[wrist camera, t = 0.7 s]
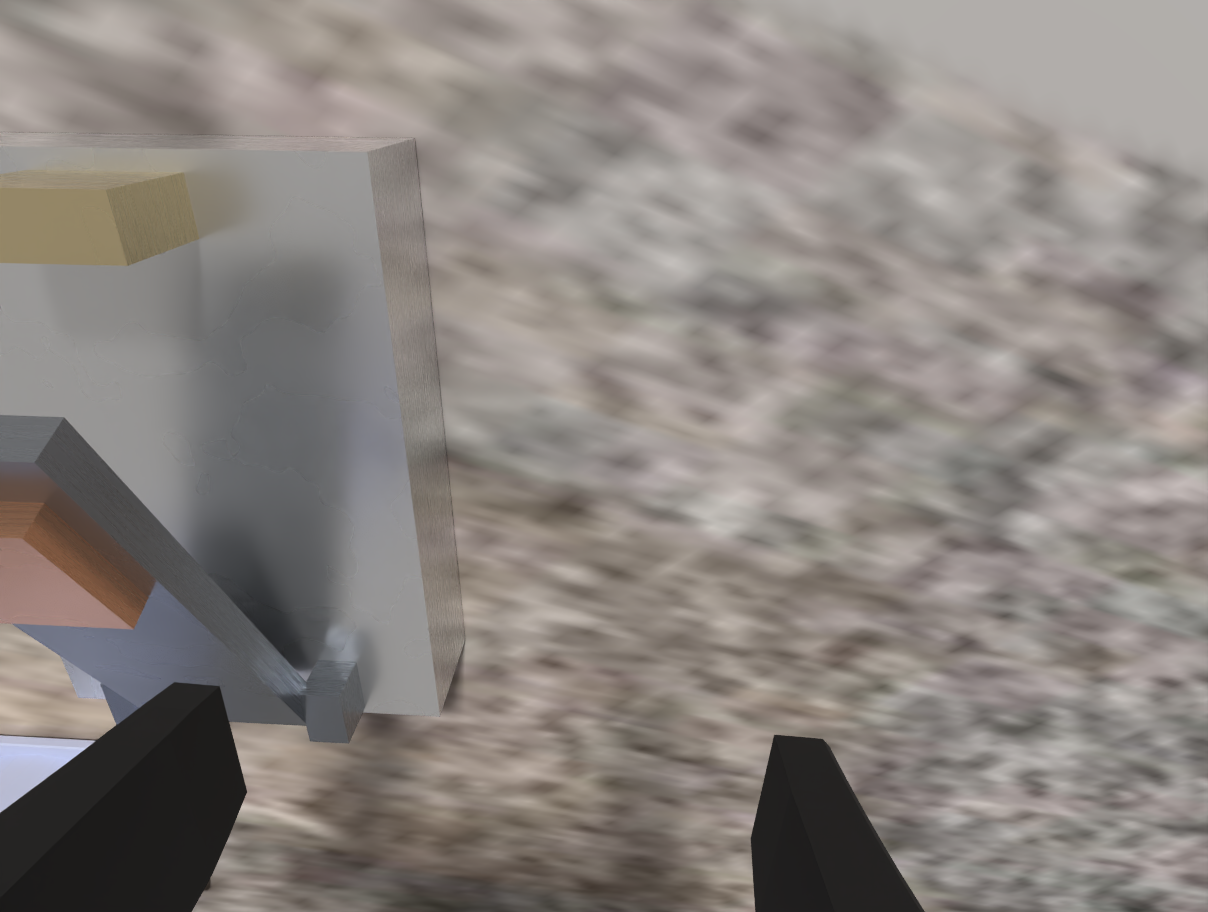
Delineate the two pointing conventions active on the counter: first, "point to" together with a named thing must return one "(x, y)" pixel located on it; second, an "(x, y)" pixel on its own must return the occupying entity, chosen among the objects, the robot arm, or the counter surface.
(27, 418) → the grey slab
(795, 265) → the counter surface
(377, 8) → the counter surface
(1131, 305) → the counter surface
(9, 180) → the base block
